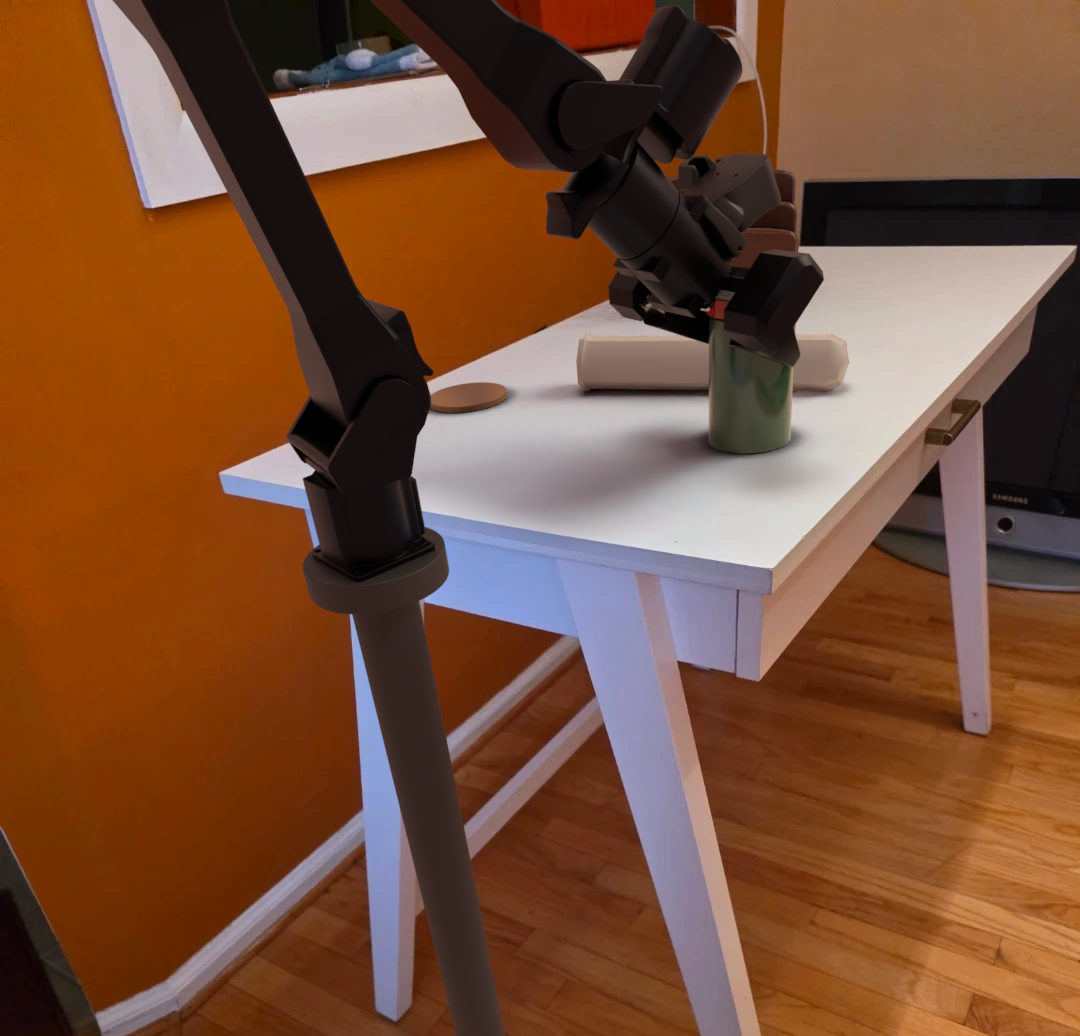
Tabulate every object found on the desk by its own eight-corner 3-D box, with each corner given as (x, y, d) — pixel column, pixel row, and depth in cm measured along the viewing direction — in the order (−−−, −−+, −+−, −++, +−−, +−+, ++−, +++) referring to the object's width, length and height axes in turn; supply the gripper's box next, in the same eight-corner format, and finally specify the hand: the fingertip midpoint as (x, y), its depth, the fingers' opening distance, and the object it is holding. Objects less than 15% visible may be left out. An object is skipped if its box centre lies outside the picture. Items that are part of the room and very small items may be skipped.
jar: (755, 459, 75) (759, 305, 68) (692, 444, 79) (690, 297, 72) (807, 435, 78) (816, 285, 71) (743, 421, 82) (746, 279, 76)
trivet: (459, 418, 91) (458, 411, 91) (413, 404, 96) (412, 398, 96) (523, 395, 95) (522, 389, 95) (475, 383, 100) (474, 378, 100)
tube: (854, 333, 87) (593, 335, 95) (851, 328, 82) (577, 331, 90) (847, 395, 88) (591, 392, 97) (843, 393, 84) (575, 390, 92)
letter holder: (637, 298, 126) (632, 177, 118) (791, 286, 122) (796, 160, 114) (631, 316, 118) (626, 188, 110) (796, 304, 114) (803, 170, 106)
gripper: (811, 110, 57) (919, 274, 67) (632, 115, 70) (745, 251, 81) (706, 277, 58) (828, 413, 69) (551, 251, 72) (672, 367, 82)
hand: (765, 353), depth 75 cm, fingers closed on jar, 6 cm apart
